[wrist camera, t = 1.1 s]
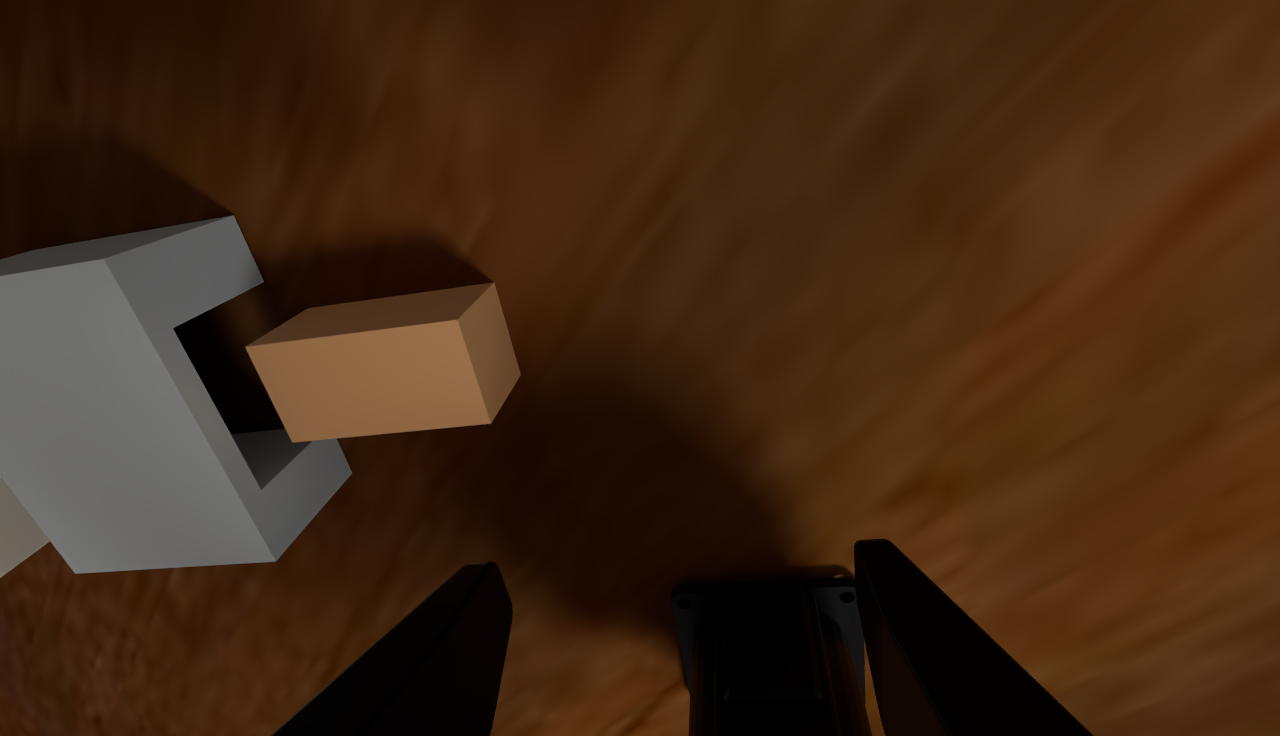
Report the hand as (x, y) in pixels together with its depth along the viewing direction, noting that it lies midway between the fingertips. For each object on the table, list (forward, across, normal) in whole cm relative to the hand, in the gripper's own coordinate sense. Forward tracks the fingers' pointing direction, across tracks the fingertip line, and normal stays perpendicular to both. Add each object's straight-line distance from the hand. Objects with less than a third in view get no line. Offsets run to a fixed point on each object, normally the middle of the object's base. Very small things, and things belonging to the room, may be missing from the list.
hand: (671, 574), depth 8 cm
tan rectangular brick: (+10, +8, 0) cm, 13 cm away
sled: (+10, +16, 0) cm, 19 cm away
